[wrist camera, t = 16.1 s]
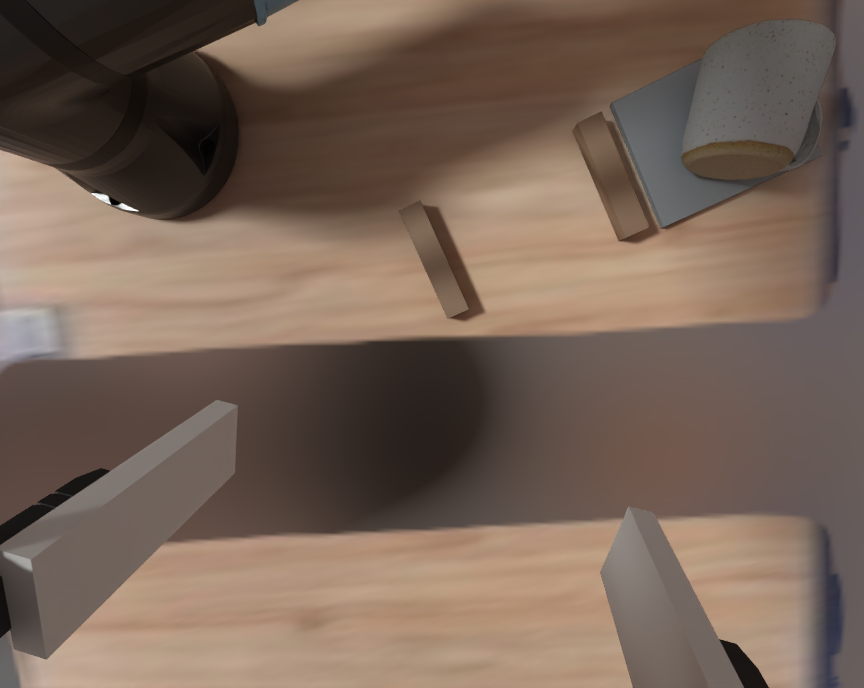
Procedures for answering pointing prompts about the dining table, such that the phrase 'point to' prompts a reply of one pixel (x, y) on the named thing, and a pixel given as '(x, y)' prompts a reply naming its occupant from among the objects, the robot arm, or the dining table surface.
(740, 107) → the ceramic mug
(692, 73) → the slate mat
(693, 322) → the dining table surface
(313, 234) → the dining table surface
